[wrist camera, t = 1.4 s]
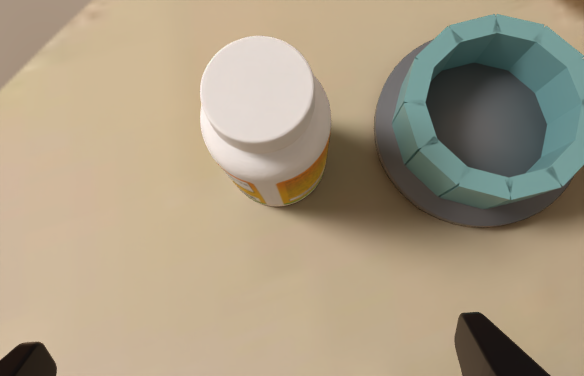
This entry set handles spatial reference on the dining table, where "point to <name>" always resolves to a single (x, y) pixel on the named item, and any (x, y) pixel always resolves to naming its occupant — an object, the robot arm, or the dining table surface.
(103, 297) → the dining table surface
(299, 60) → the supplement bottle
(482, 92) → the teal round bowl
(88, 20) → the dining table surface
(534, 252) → the dining table surface
